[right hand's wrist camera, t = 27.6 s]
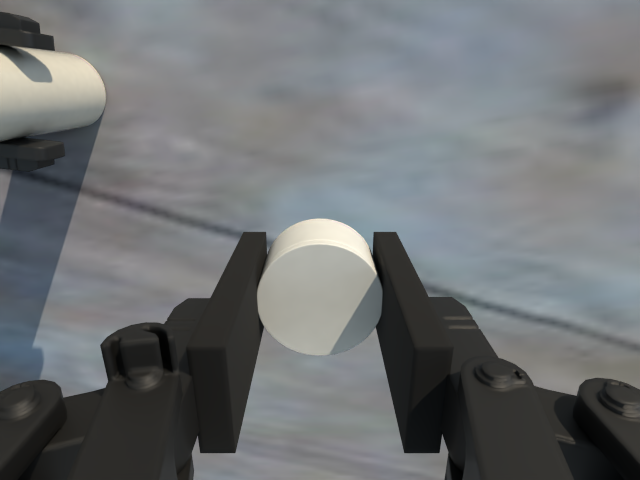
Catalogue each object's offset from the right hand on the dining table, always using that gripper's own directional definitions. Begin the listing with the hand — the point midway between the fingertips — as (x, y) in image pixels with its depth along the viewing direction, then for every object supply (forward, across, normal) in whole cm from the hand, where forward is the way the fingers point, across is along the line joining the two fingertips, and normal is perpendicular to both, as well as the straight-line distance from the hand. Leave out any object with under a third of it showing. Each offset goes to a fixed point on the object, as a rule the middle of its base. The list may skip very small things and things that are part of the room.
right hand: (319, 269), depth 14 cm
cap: (-2, 0, 0) cm, 2 cm away
